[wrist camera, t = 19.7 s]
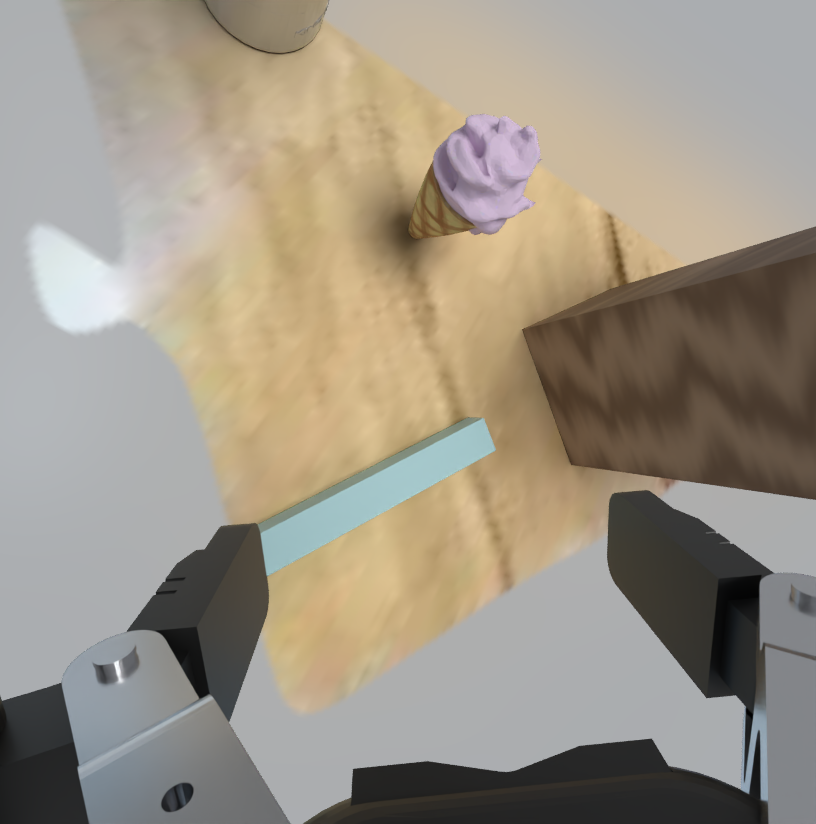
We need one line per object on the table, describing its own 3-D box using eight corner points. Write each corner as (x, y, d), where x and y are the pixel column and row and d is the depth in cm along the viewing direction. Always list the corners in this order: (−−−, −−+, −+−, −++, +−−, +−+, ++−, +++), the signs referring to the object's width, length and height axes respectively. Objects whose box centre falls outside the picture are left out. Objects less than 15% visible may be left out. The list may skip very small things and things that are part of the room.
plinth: (522, 329, 46) (1091, 180, 16) (613, 288, 50) (1198, 109, 21) (571, 464, 48) (1152, 548, 19) (654, 414, 52) (1239, 417, 23)
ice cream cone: (464, 244, 44) (584, 166, 30) (418, 288, 42) (522, 227, 28) (416, 180, 42) (519, 66, 28) (365, 224, 40) (449, 126, 27)
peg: (217, 588, 37) (218, 602, 34) (199, 552, 36) (199, 564, 33) (477, 447, 45) (496, 450, 42) (466, 417, 44) (483, 417, 42)
